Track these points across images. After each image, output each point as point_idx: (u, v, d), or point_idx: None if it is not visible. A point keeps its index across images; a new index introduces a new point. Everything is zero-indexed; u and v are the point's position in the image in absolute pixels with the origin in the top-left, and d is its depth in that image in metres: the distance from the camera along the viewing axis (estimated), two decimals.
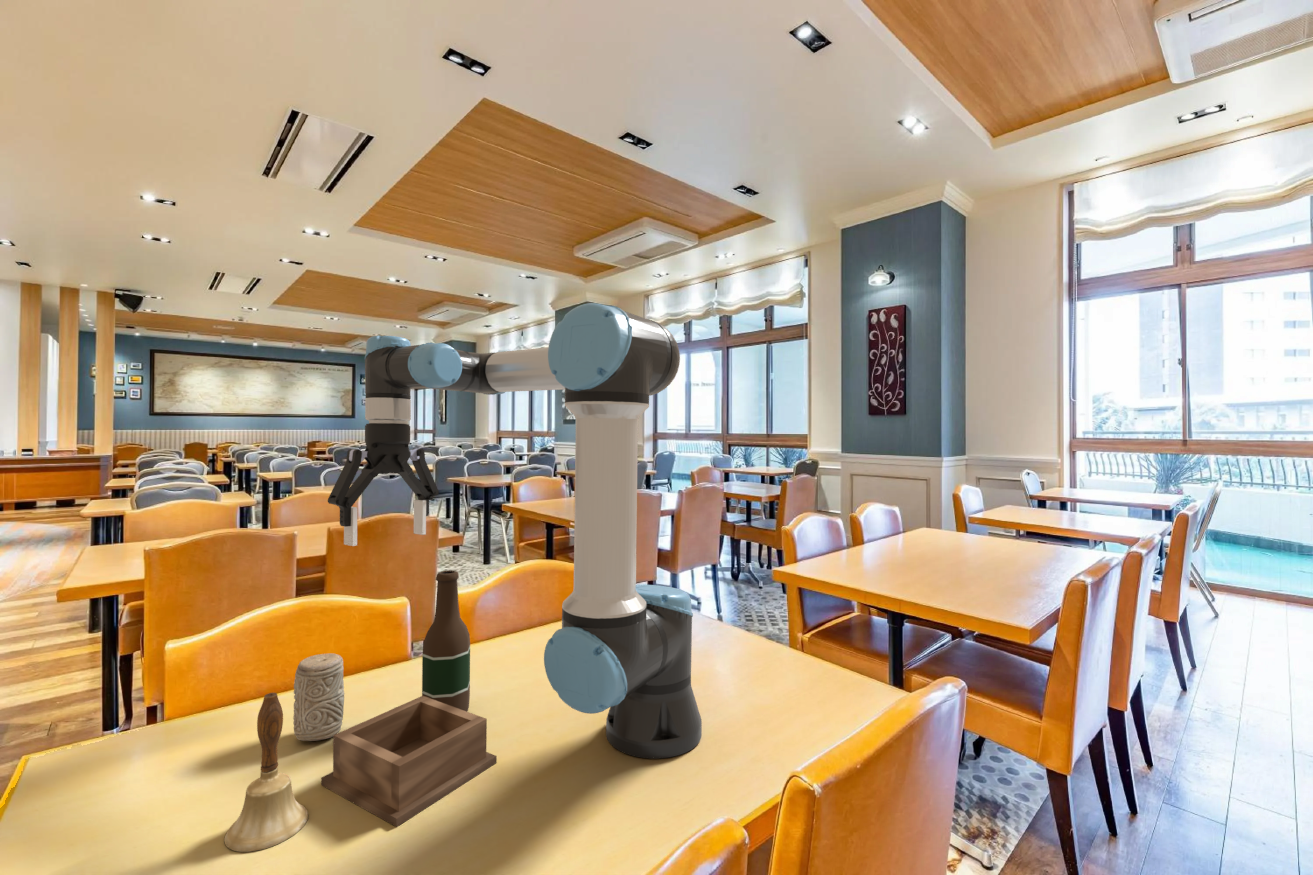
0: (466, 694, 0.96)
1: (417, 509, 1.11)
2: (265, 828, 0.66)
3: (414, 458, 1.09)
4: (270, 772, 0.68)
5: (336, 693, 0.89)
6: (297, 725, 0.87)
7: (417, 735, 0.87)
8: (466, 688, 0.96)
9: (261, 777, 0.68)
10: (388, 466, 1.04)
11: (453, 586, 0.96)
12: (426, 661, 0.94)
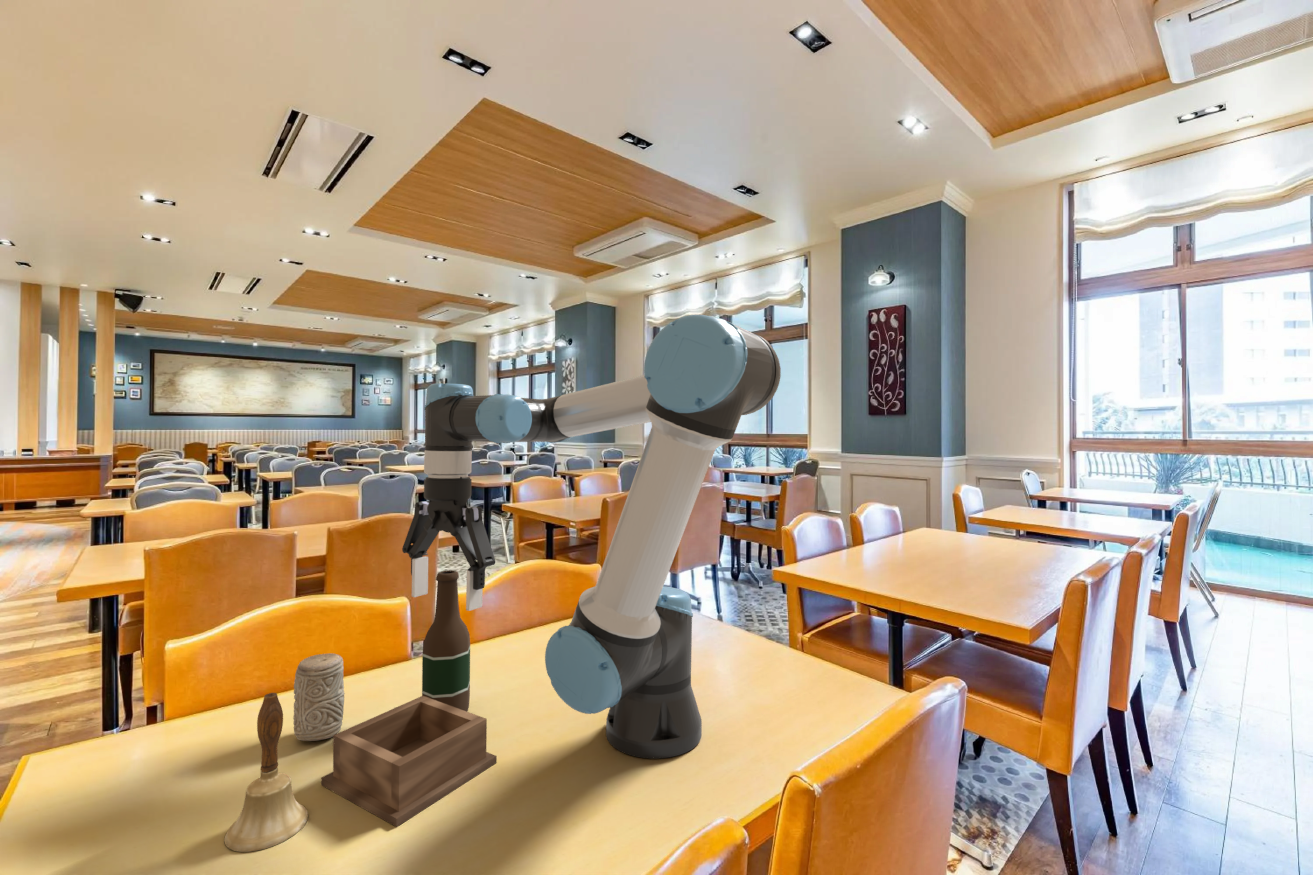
0: (466, 694, 0.96)
1: None
2: (265, 828, 0.66)
3: None
4: (270, 772, 0.68)
5: (336, 693, 0.89)
6: (297, 725, 0.87)
7: (417, 735, 0.87)
8: (466, 688, 0.96)
9: (261, 777, 0.68)
10: (439, 523, 0.97)
11: (453, 586, 0.96)
12: (426, 661, 0.94)
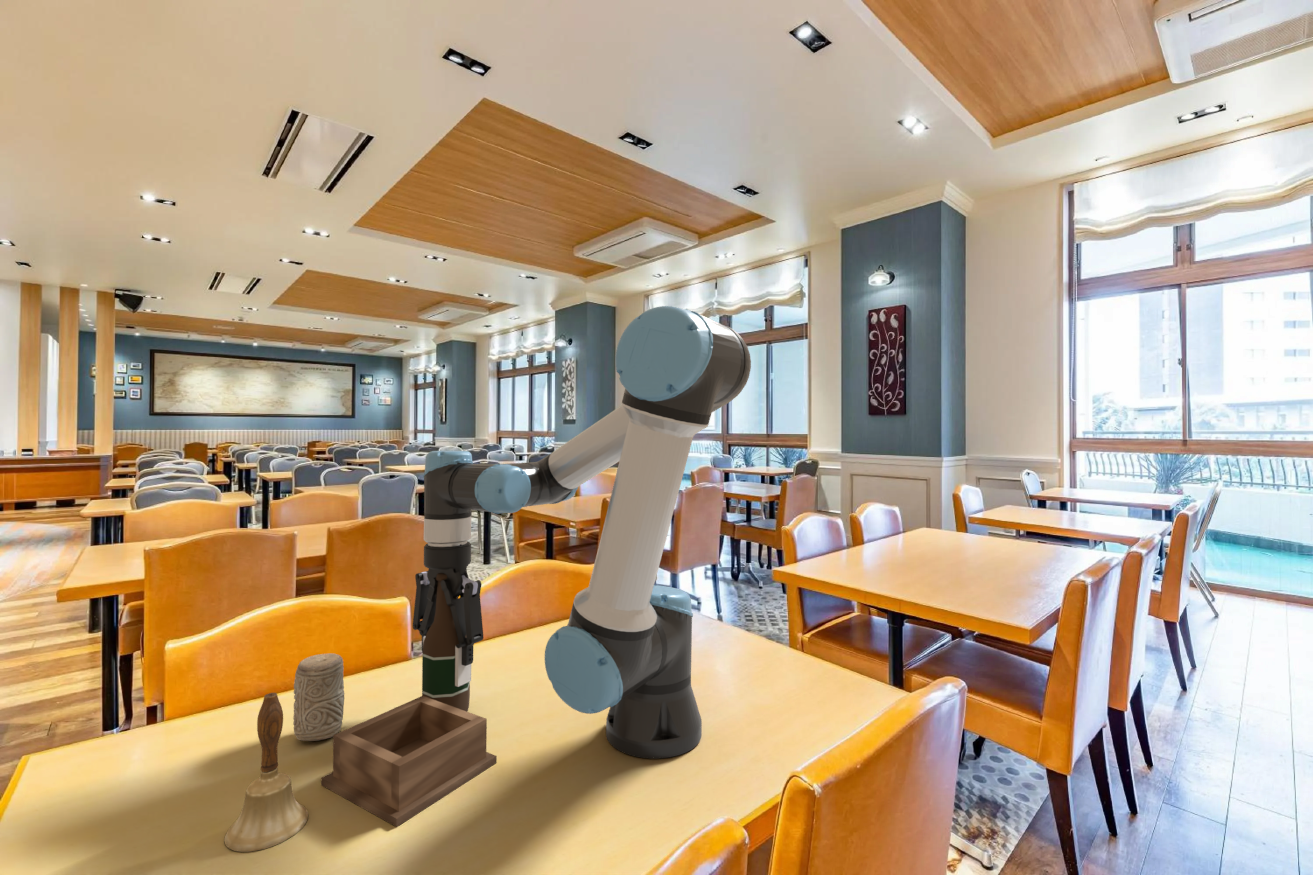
0: (466, 694, 0.96)
1: None
2: (265, 828, 0.66)
3: None
4: (270, 772, 0.68)
5: (336, 693, 0.89)
6: (297, 725, 0.87)
7: (417, 735, 0.87)
8: (466, 688, 0.96)
9: (261, 777, 0.68)
10: None
11: None
12: (426, 661, 0.94)
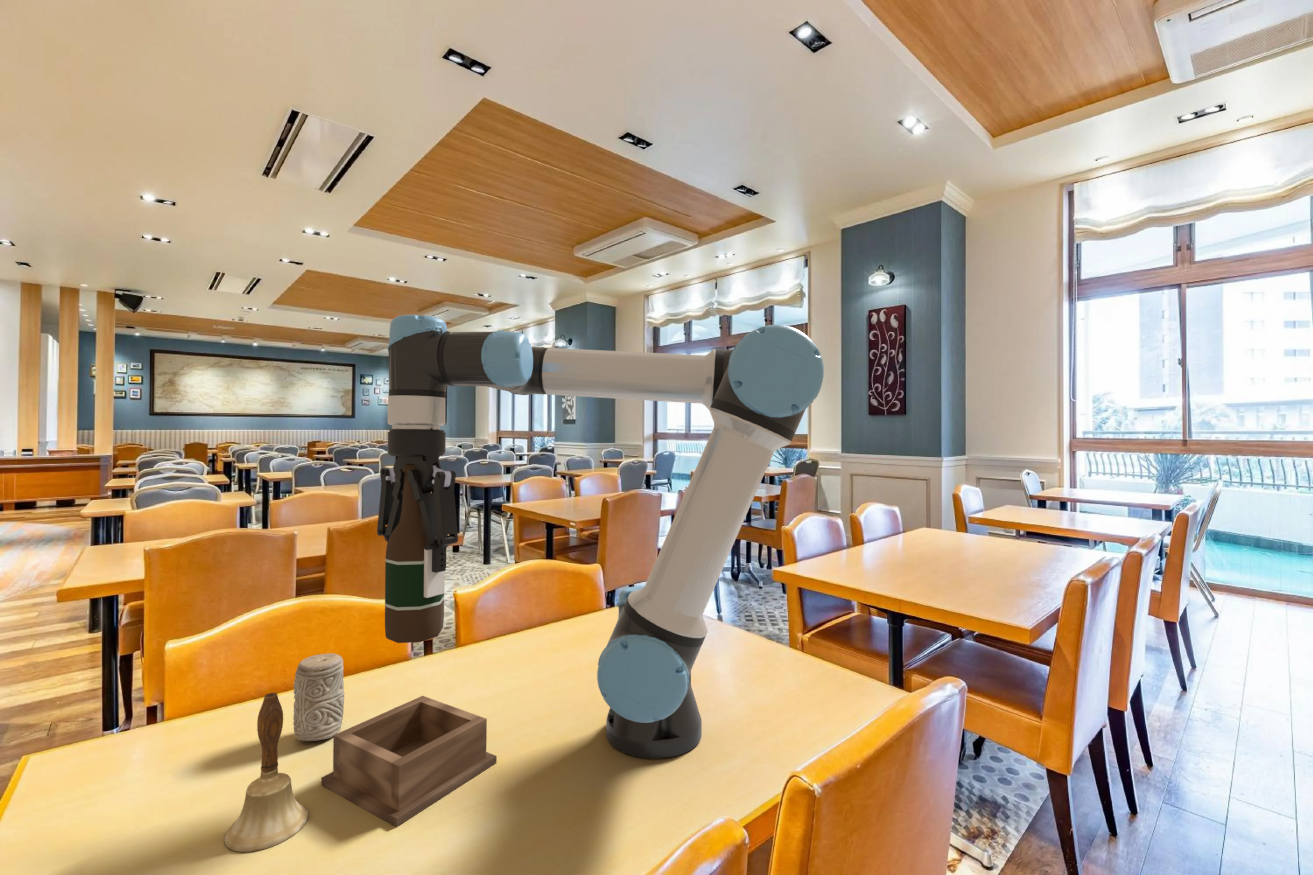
0: (438, 609, 0.80)
1: None
2: (265, 828, 0.66)
3: None
4: (270, 772, 0.68)
5: (336, 693, 0.89)
6: (297, 725, 0.87)
7: (417, 735, 0.87)
8: (438, 602, 0.80)
9: (261, 777, 0.68)
10: None
11: None
12: (390, 567, 0.78)
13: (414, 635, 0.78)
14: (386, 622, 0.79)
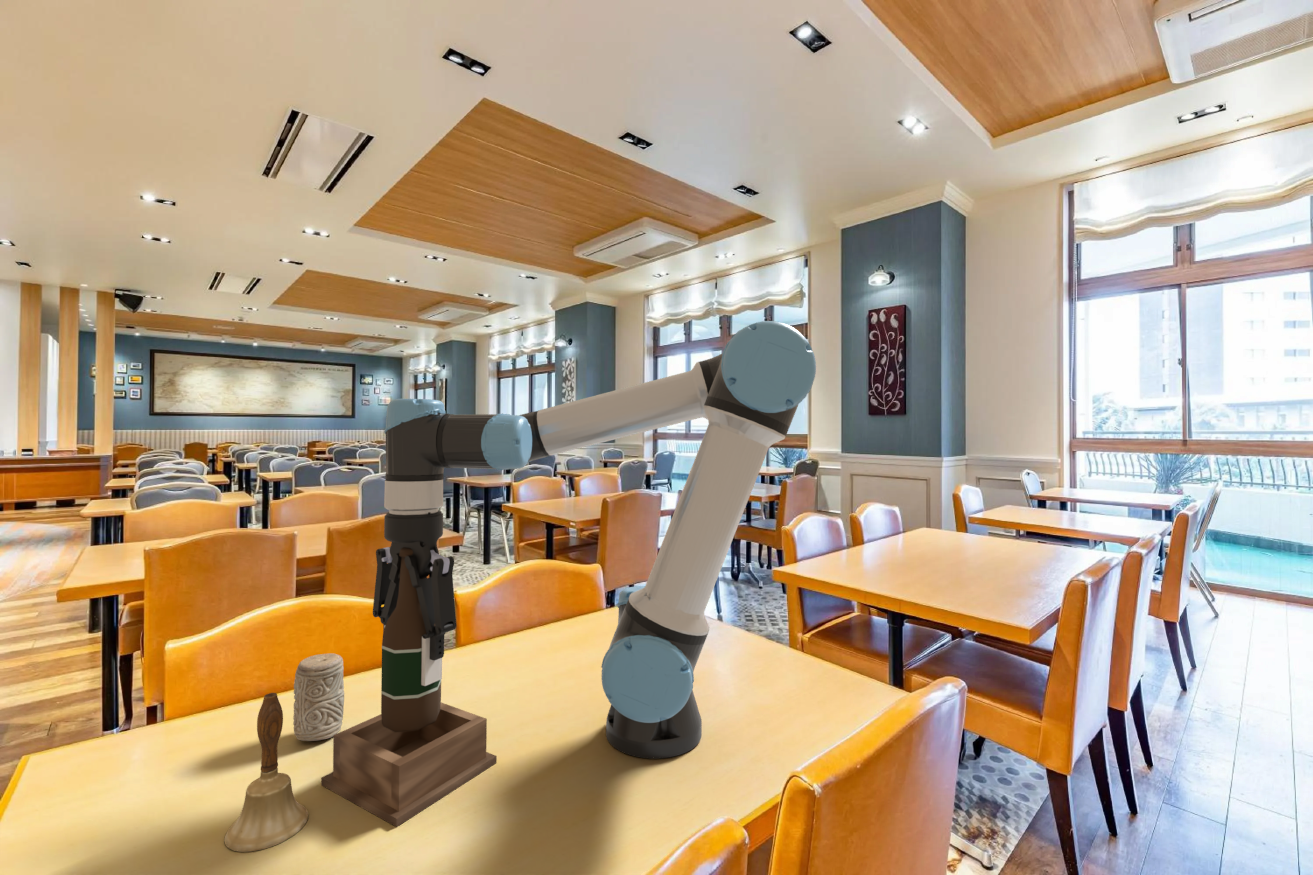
0: (435, 695, 0.79)
1: None
2: (265, 828, 0.66)
3: None
4: (270, 772, 0.68)
5: (336, 693, 0.89)
6: (297, 725, 0.87)
7: (417, 735, 0.87)
8: (436, 688, 0.79)
9: (261, 777, 0.68)
10: None
11: None
12: (387, 654, 0.77)
13: (411, 724, 0.77)
14: (382, 710, 0.78)
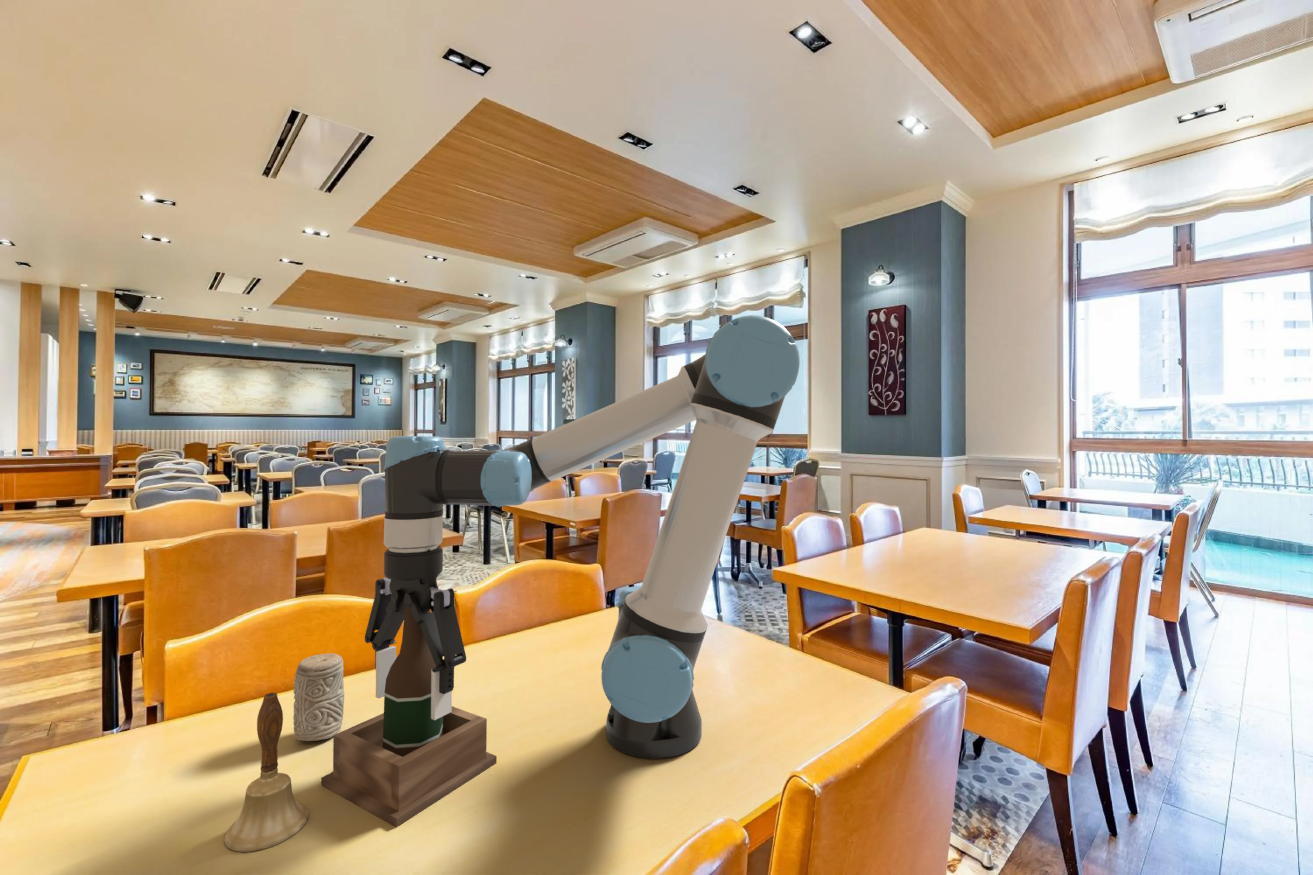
0: None
1: None
2: (265, 828, 0.66)
3: None
4: (270, 772, 0.68)
5: (336, 693, 0.89)
6: (297, 725, 0.87)
7: None
8: (437, 735, 0.79)
9: (261, 777, 0.68)
10: (403, 605, 0.80)
11: None
12: (389, 702, 0.77)
13: None
14: None
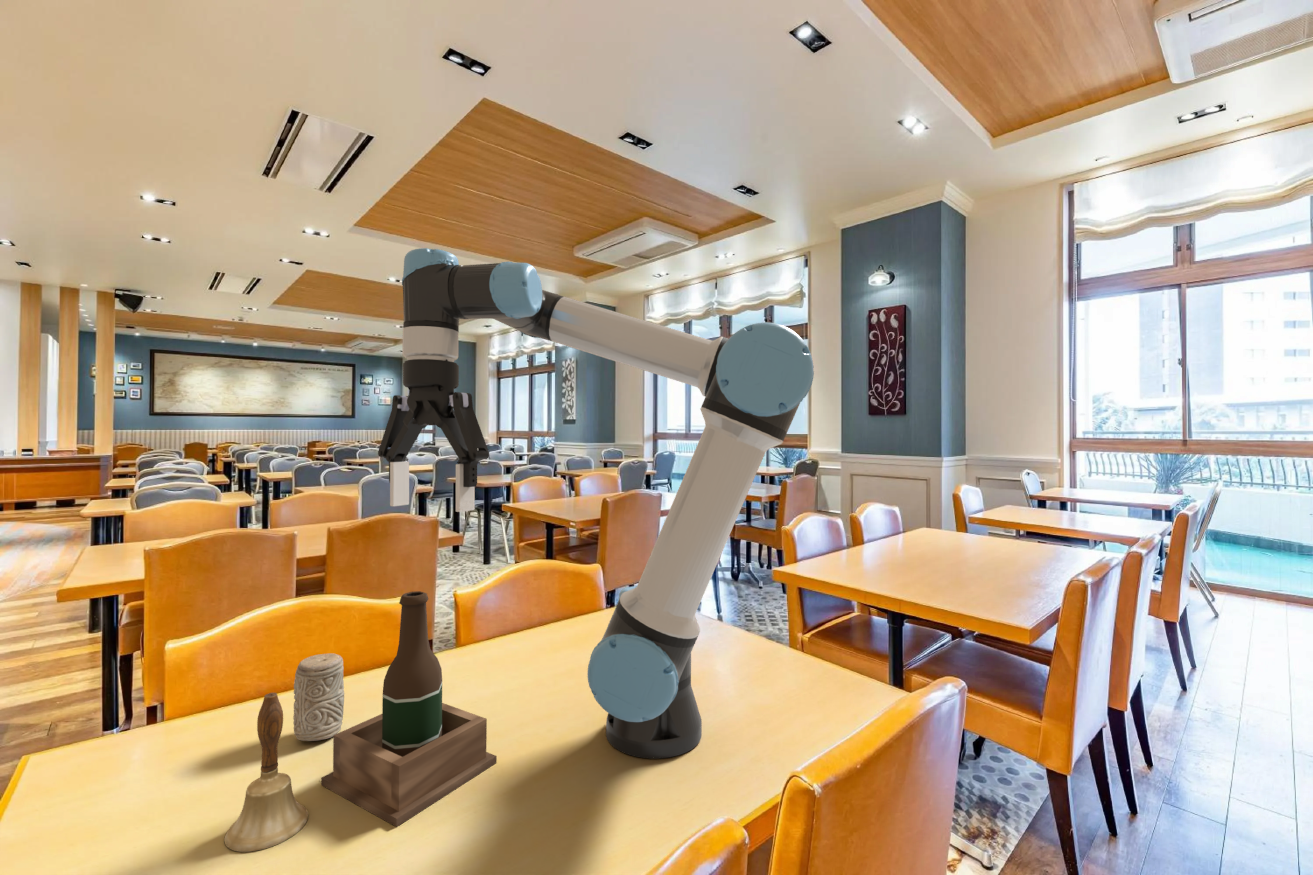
0: None
1: None
2: (265, 828, 0.66)
3: None
4: (270, 772, 0.68)
5: (336, 693, 0.89)
6: (297, 725, 0.87)
7: None
8: (436, 735, 0.79)
9: (261, 777, 0.68)
10: (422, 416, 0.83)
11: (420, 611, 0.79)
12: (387, 703, 0.77)
13: None
14: None
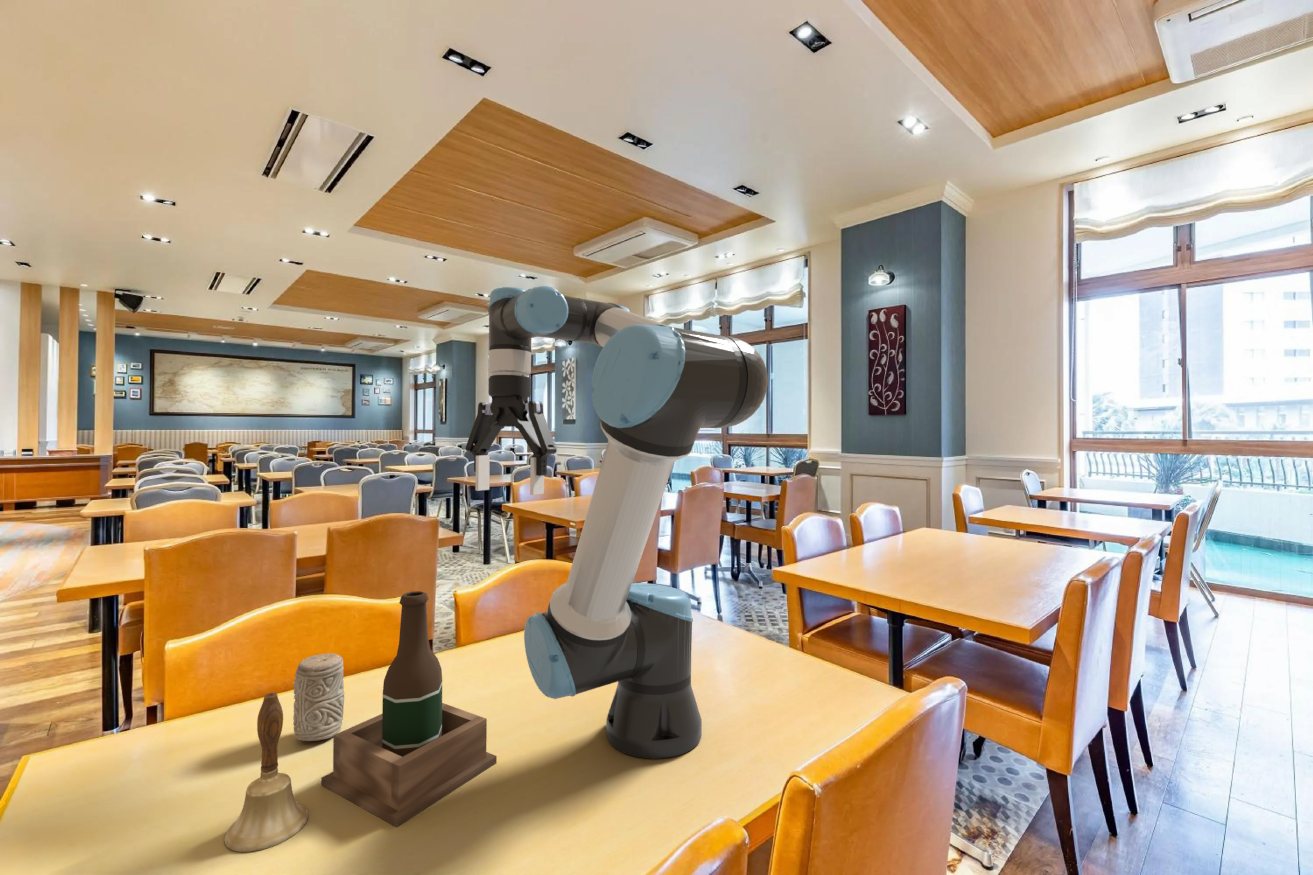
0: None
1: None
2: (265, 828, 0.66)
3: None
4: (270, 772, 0.68)
5: (336, 693, 0.89)
6: (297, 725, 0.87)
7: None
8: (436, 735, 0.79)
9: (261, 777, 0.68)
10: (502, 419, 1.05)
11: (420, 611, 0.79)
12: (387, 703, 0.77)
13: None
14: None
